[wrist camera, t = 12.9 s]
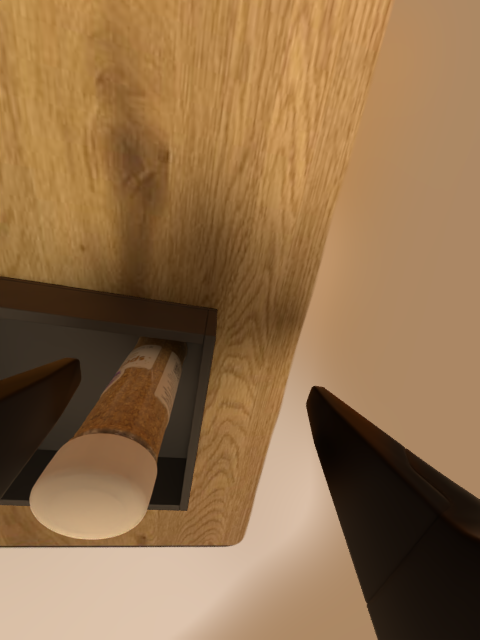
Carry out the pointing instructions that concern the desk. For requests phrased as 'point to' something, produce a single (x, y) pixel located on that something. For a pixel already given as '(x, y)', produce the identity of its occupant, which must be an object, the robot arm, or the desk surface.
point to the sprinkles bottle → (113, 449)
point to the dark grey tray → (106, 368)
